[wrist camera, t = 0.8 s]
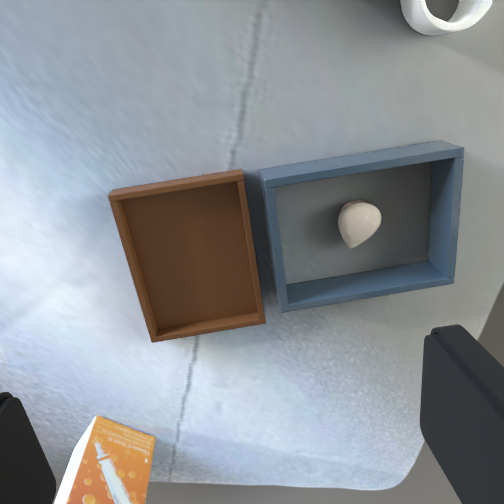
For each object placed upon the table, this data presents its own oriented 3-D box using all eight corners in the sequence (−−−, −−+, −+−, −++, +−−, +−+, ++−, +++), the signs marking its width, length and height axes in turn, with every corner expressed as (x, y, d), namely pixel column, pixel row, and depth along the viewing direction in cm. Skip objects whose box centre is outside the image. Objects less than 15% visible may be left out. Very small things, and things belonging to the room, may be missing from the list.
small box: (157, 435, 51) (140, 546, 39) (133, 467, 53) (110, 582, 41) (96, 412, 48) (58, 523, 37) (73, 446, 50) (31, 562, 38)
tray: (112, 189, 38) (107, 195, 36) (241, 168, 38) (243, 173, 36) (154, 331, 45) (151, 342, 43) (263, 313, 45) (265, 323, 43)
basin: (259, 169, 38) (263, 179, 35) (441, 140, 39) (464, 147, 35) (275, 293, 44) (281, 313, 40) (434, 266, 44) (454, 283, 41)
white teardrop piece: (380, 200, 41) (390, 208, 38) (366, 246, 43) (374, 256, 40) (339, 194, 40) (346, 202, 38) (327, 241, 42) (333, 251, 40)
